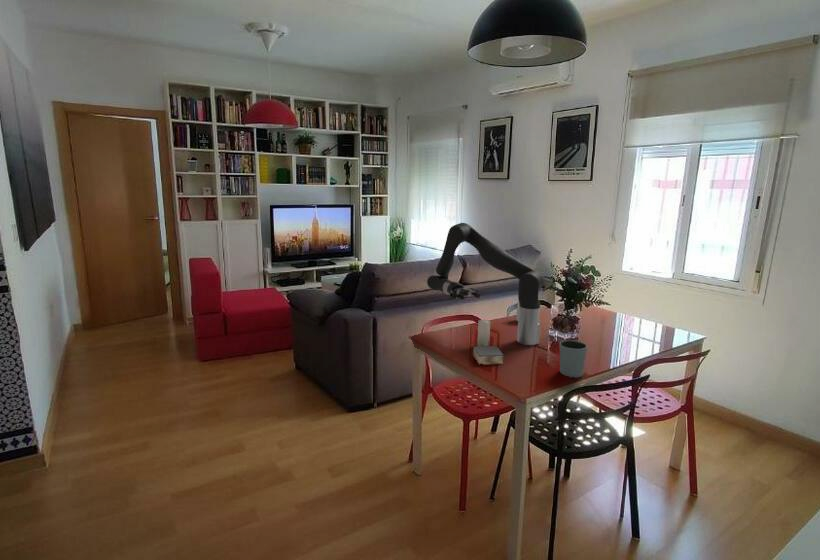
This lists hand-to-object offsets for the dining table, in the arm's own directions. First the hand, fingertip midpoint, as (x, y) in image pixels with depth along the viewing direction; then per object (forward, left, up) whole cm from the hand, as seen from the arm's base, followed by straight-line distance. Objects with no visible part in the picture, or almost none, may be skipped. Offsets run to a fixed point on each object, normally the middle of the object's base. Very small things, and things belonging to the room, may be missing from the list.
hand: (471, 296), depth 211 cm
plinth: (-2, +25, -21) cm, 33 cm away
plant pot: (-31, +41, -21) cm, 56 cm away
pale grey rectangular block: (-4, +10, -21) cm, 23 cm away
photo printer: (-36, -24, -21) cm, 48 cm away
